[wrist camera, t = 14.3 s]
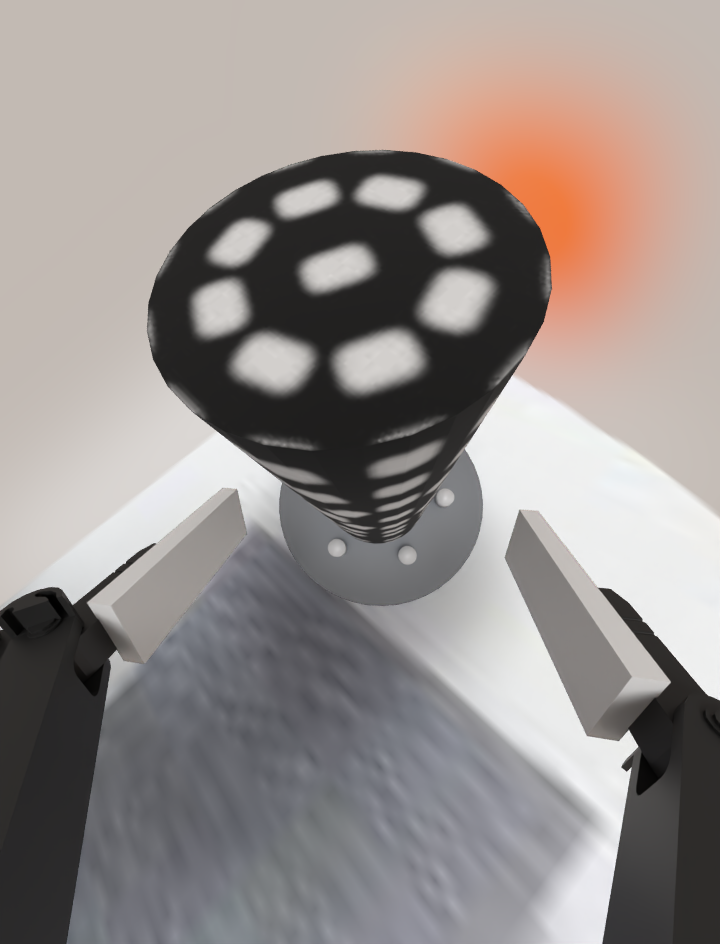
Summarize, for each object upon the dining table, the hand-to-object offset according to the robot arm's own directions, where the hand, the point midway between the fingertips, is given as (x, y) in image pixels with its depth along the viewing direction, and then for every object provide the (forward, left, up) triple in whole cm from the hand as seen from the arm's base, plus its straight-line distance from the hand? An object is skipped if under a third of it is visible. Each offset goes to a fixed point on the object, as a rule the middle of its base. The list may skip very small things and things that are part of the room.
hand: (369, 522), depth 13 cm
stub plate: (0, +4, -12) cm, 13 cm away
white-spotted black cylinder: (0, +4, -11) cm, 12 cm away
